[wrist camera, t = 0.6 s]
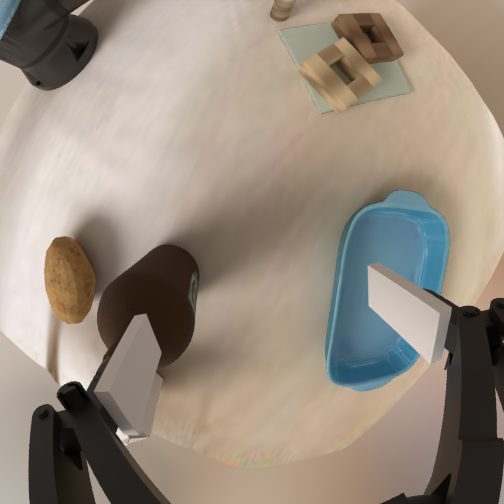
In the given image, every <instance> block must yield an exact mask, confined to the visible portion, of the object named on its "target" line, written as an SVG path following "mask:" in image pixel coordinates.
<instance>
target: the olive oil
mask: <svg viewBox="0 0 504 504" xmlns="http://www.w3.org/2000/svg"><path fill="white" fill-rule="evenodd" d="M198 283H199V270H198V266H197V264H196V262H195V260H194V259H193V257H192V256H191V255H190V254H189V253H188V252H187V251H185V250H184V249H182V248H180V247H177V246H172V245H164V246H159V247H157V248H155V249H153V250H151V251H150V252H149V253H148V254H147V255H145V256H144V257H143V258H142V259H141V260H139V261H138V262H137V263H135V264H134V265H133V266H132V267H130V268H129V269H128V270H126V271H125V272H124V273H122V274H121V275H120V276H119V277H117V278H116V279H115V280H114V281H112V282H111V283H110V284H109V286H108V287H107V288H106V290H105V291H104V293H103V295H102V297H101V300H100V303H99V307H98V312H97V324H98V330H99V333H100V336H101V338H102V340H103V342H104V344H105V345H106V347H107V348H108V351H107V352H106V354H105V355H104V357H103V362H102V363H101V365H102V364H103V363H104V362H105V361H110V359H111V357H112V355H113V353H114V351H115V350H116V348H117V346H118V344H119V342H120V340H121V339H122V337H123V335H124V333H125V331H126V330H127V328H128V326H129V324H130V323H131V321H132V319H133V318H134V316H135V315H141V314H147V317H148V320H149V322H150V325H151V327H152V330H153V333H154V335H155V338H156V340H157V342H158V345H159V347H160V350H161V352H162V353H161V356H160V360H159V363H158V367H157V368H161V367H164V366H167V365H169V364H171V363H172V362H174V361H175V360H176V359H178V358H179V357H180V356H181V354H182V353H183V352H184V351H185V350H186V348H187V347H188V345H189V343H190V341H191V339H192V336H193V332H194V326H195V312H196V300H197V291H198ZM101 365H100V366H101Z"/></svg>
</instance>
